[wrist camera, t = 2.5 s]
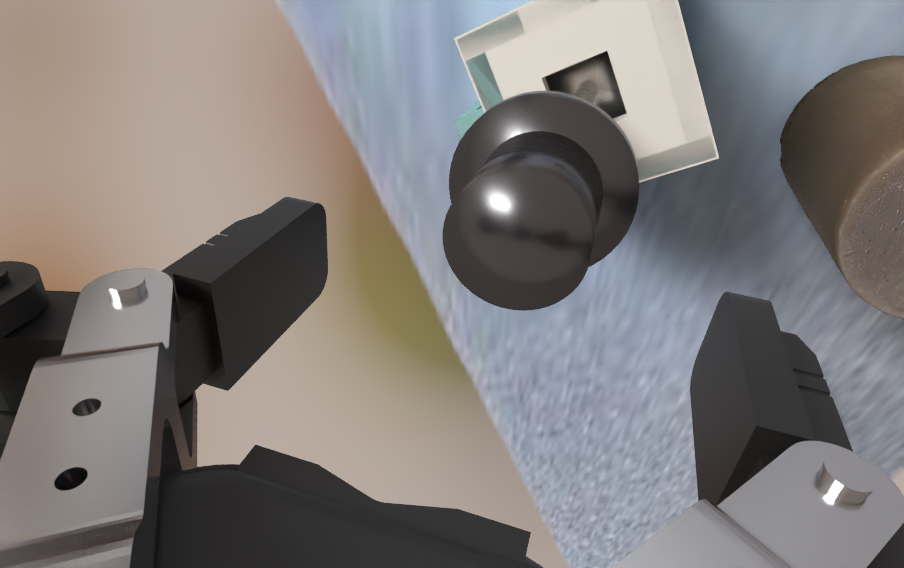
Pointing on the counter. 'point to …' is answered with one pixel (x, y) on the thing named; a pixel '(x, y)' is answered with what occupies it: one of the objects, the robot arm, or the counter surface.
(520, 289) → the doorknob
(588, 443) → the counter surface
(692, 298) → the counter surface
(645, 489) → the counter surface
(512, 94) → the open teal box
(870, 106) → the pillar candle
